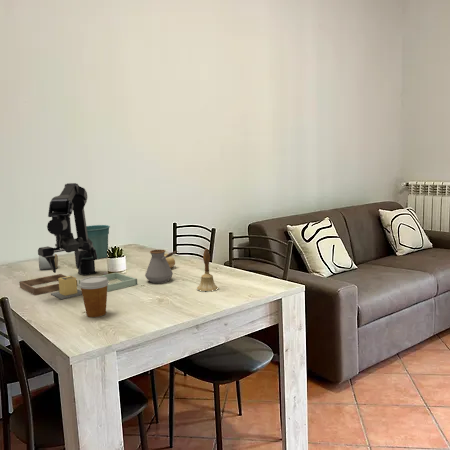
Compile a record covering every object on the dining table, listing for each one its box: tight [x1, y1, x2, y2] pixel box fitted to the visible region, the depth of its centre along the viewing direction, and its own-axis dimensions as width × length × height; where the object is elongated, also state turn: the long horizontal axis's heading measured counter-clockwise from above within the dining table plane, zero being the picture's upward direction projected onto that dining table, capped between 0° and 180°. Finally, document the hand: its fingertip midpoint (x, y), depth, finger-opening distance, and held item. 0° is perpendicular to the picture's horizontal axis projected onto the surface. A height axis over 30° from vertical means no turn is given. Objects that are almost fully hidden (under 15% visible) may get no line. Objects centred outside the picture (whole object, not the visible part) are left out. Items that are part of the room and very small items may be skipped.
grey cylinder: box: [38, 253, 59, 271], centre depth 237 cm, size 11×8×8 cm
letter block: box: [58, 275, 78, 296], centre depth 190 cm, size 5×5×6 cm
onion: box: [164, 253, 176, 269], centre depth 228 cm, size 8×8×7 cm
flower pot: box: [86, 224, 111, 260], centre depth 259 cm, size 16×16×16 cm
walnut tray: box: [19, 273, 79, 296], centre depth 202 cm, size 18×17×2 cm
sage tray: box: [78, 272, 138, 293], centre depth 201 cm, size 18×17×2 cm
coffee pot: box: [144, 249, 179, 284], centre depth 201 cm, size 21×12×15 cm, turn 37°
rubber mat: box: [50, 288, 83, 300], centre depth 190 cm, size 10×10×1 cm
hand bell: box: [196, 248, 219, 292], centre depth 190 cm, size 8×8×16 cm
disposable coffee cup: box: [78, 275, 110, 318], centre depth 163 cm, size 10×10×12 cm
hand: (66, 270), depth 188 cm, fingers open, 9 cm apart
